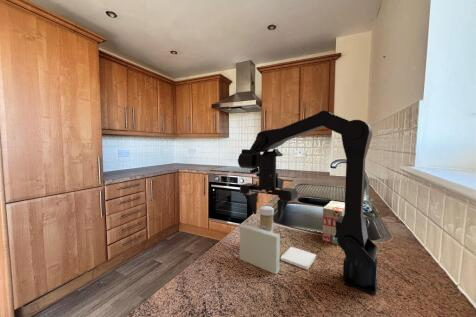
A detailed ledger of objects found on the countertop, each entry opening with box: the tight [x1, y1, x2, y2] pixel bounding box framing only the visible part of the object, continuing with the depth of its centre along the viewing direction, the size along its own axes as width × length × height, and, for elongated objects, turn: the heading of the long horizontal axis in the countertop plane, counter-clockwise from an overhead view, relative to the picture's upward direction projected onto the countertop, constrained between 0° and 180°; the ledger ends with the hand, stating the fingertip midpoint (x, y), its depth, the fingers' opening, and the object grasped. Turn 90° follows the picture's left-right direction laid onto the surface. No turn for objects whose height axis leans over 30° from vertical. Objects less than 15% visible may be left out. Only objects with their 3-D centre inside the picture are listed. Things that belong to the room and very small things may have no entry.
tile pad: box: [280, 246, 317, 271], centre depth 59 cm, size 8×8×1 cm
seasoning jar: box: [259, 205, 275, 233], centre depth 65 cm, size 5×5×13 cm
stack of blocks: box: [321, 200, 345, 246], centre depth 77 cm, size 21×6×12 cm, turn 142°
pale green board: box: [239, 223, 281, 275], centre depth 56 cm, size 12×2×10 cm, turn 53°
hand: (266, 216), depth 65 cm, fingers open, 9 cm apart
